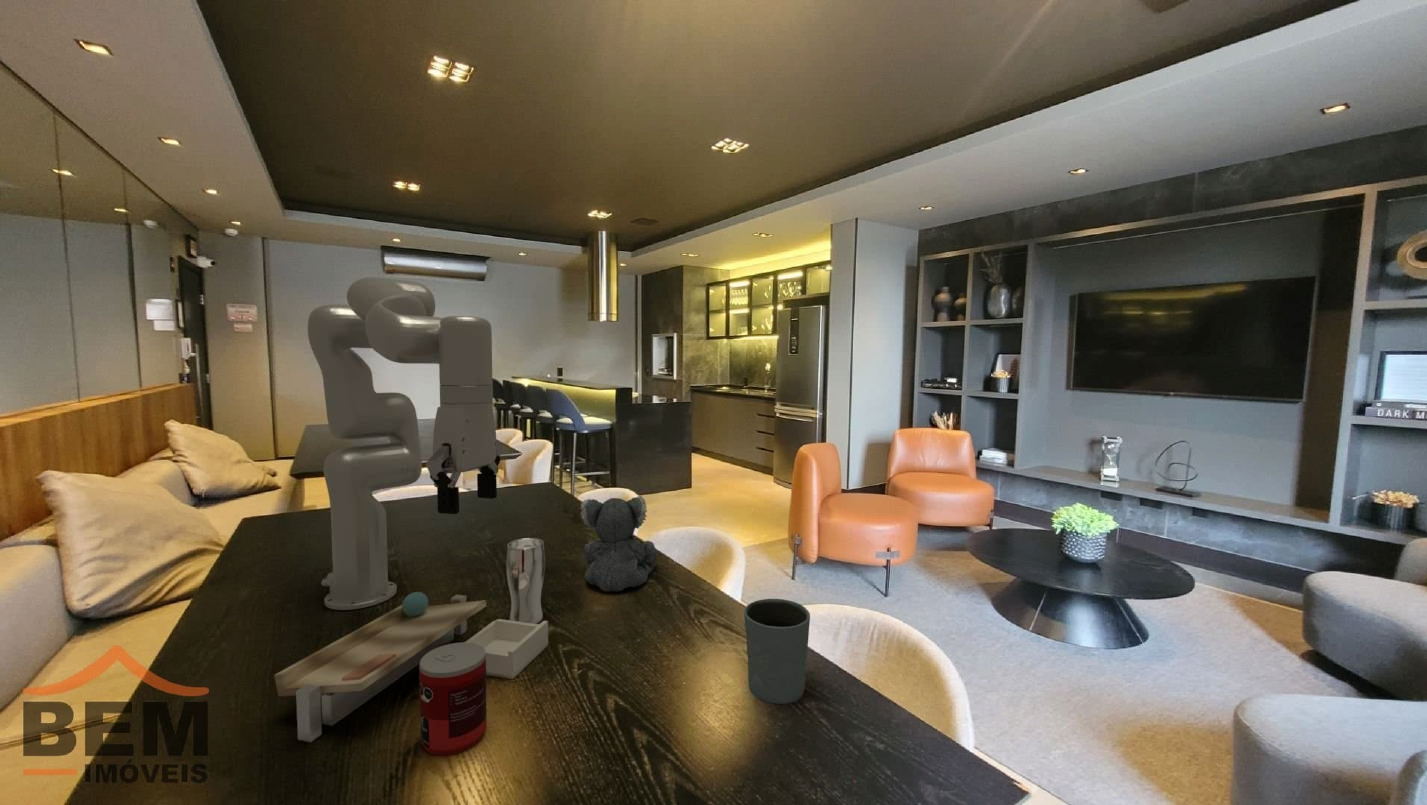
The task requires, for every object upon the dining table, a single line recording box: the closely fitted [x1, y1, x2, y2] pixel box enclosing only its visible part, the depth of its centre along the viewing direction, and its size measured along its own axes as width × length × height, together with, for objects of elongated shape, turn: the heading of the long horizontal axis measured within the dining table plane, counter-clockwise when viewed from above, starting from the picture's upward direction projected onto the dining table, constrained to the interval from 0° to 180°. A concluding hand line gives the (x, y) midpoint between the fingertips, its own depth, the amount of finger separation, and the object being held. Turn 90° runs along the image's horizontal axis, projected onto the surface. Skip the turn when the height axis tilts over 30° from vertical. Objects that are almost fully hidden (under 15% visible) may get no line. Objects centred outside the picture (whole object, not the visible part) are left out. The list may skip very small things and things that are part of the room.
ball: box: [401, 591, 429, 617], centre depth 95 cm, size 4×4×4 cm
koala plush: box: [579, 495, 658, 593], centre depth 125 cm, size 17×18×20 cm
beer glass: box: [505, 537, 546, 624], centre depth 105 cm, size 7×7×15 cm
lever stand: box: [295, 594, 468, 743], centre depth 86 cm, size 31×2×7 cm, turn 167°
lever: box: [273, 599, 487, 698], centre depth 85 cm, size 26×14×4 cm, turn 167°
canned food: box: [418, 641, 488, 756], centre depth 72 cm, size 8×8×11 cm
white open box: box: [465, 618, 549, 680], centre depth 92 cm, size 11×11×4 cm
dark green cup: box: [743, 598, 811, 705], centre depth 84 cm, size 10×10×12 cm
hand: (468, 505), depth 86 cm, fingers open, 9 cm apart
